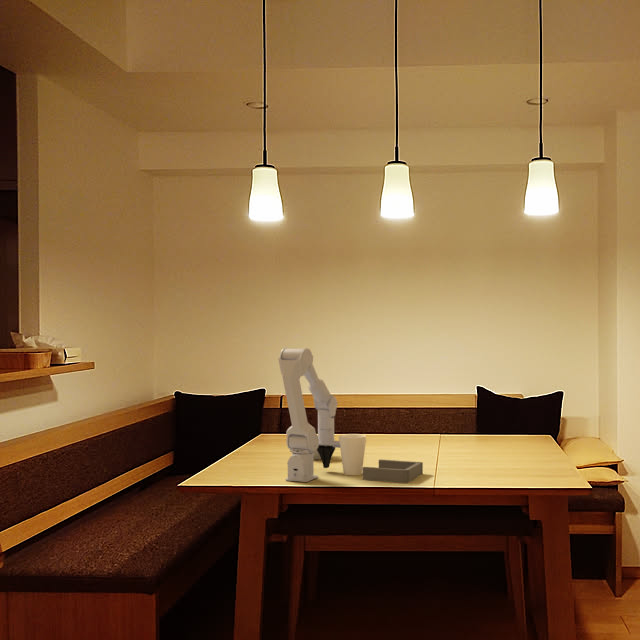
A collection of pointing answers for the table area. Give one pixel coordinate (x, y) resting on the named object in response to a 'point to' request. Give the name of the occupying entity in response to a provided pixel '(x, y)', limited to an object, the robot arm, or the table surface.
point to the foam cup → (352, 453)
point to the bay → (394, 471)
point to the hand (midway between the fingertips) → (326, 467)
